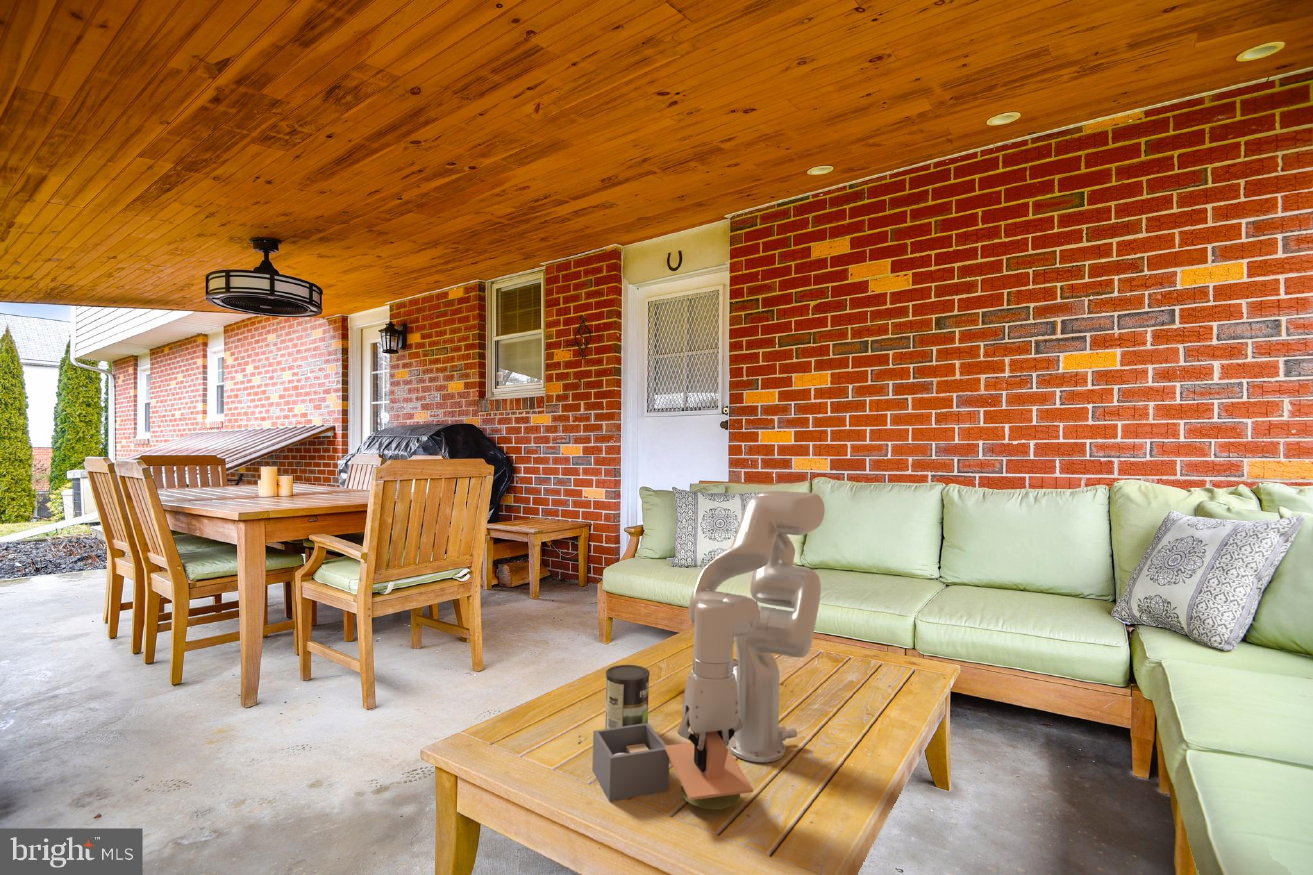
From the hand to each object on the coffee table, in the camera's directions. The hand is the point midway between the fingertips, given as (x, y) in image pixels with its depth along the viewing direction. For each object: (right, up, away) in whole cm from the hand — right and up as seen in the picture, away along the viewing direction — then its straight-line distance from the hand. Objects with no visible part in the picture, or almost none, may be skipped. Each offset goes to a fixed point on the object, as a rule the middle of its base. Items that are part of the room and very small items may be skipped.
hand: (709, 765), depth 114 cm
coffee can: (-17, -8, +28) cm, 34 cm away
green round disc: (0, -7, +1) cm, 7 cm away
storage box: (-15, -7, +7) cm, 18 cm away
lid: (0, -1, +1) cm, 1 cm away
